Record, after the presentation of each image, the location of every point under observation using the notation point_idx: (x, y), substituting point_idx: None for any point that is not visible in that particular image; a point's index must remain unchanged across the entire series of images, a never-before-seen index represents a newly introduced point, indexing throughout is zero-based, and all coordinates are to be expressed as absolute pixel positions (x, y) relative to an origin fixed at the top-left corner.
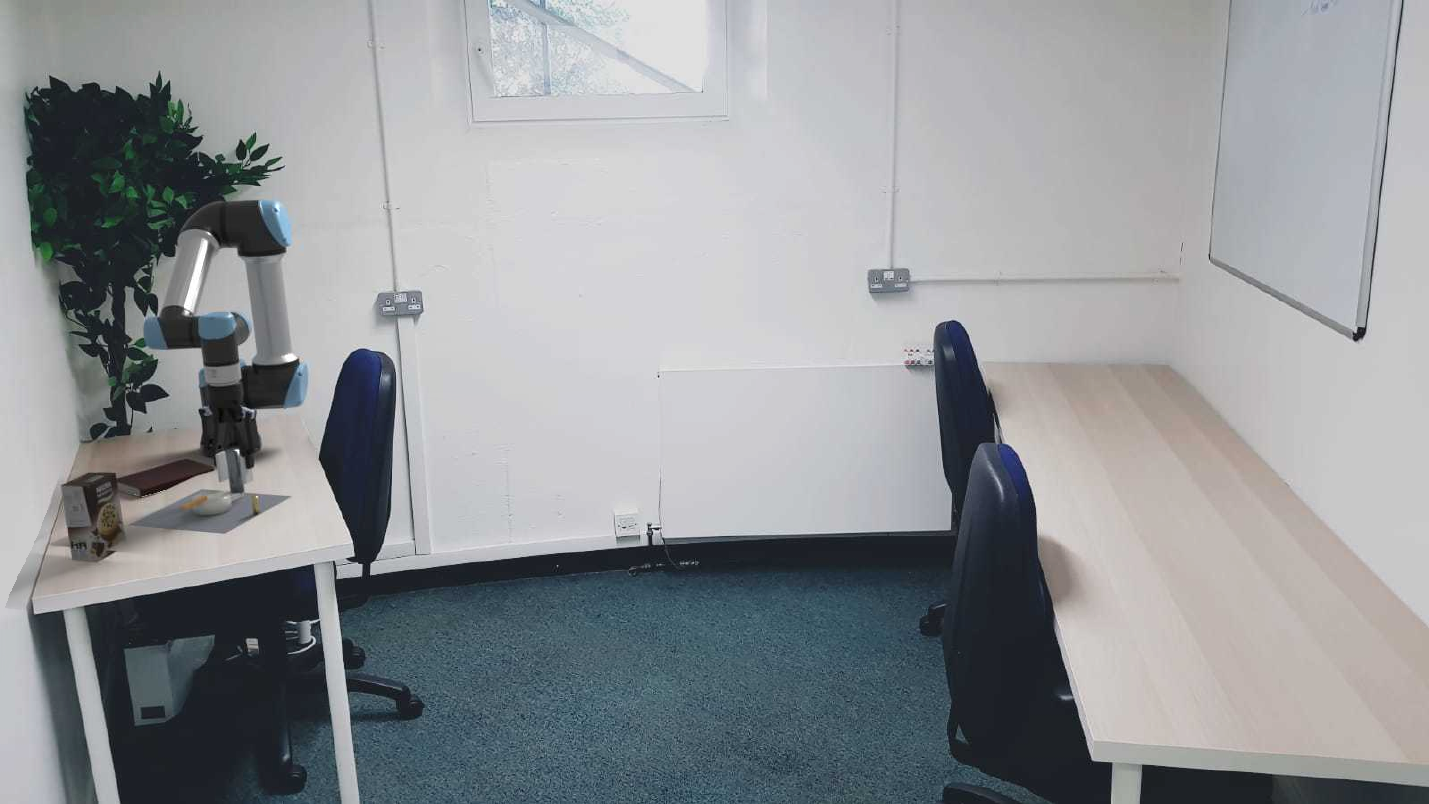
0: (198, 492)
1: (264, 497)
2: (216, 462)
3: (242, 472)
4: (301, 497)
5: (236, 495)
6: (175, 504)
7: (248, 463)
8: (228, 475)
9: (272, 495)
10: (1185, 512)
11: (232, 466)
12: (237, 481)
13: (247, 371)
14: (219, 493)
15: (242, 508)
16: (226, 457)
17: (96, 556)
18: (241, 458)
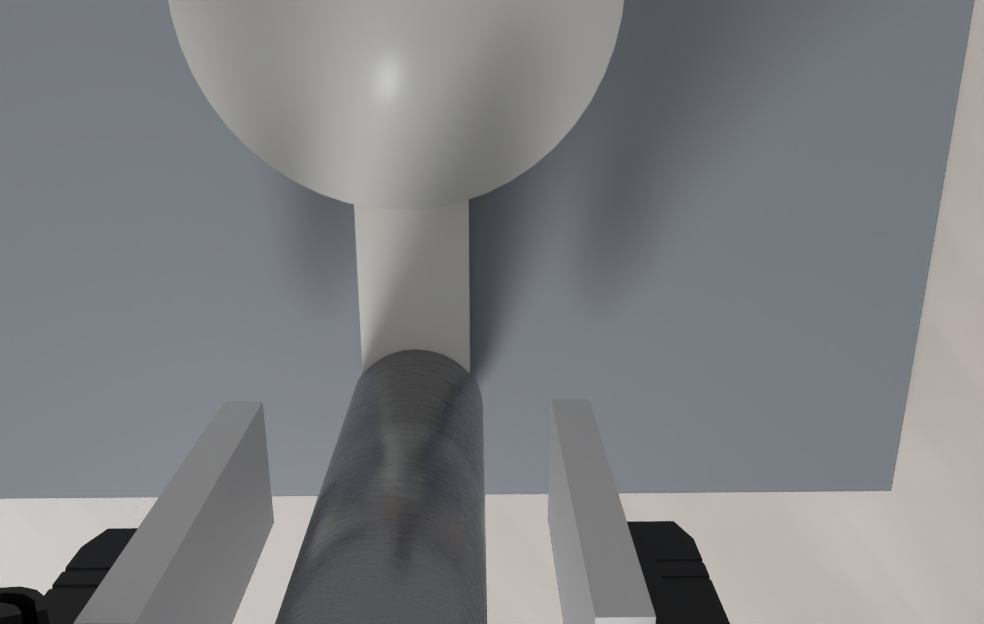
0: (870, 410)
1: (168, 423)
2: (629, 532)
3: (213, 468)
4: (11, 584)
5: (362, 322)
6: (909, 63)
7: (85, 580)
8: (456, 449)
9: (135, 481)
10: None
11: (350, 508)
12: (349, 423)
13: None
14: (366, 108)
15: (141, 107)
16: (433, 596)
17: None
18: (121, 596)
